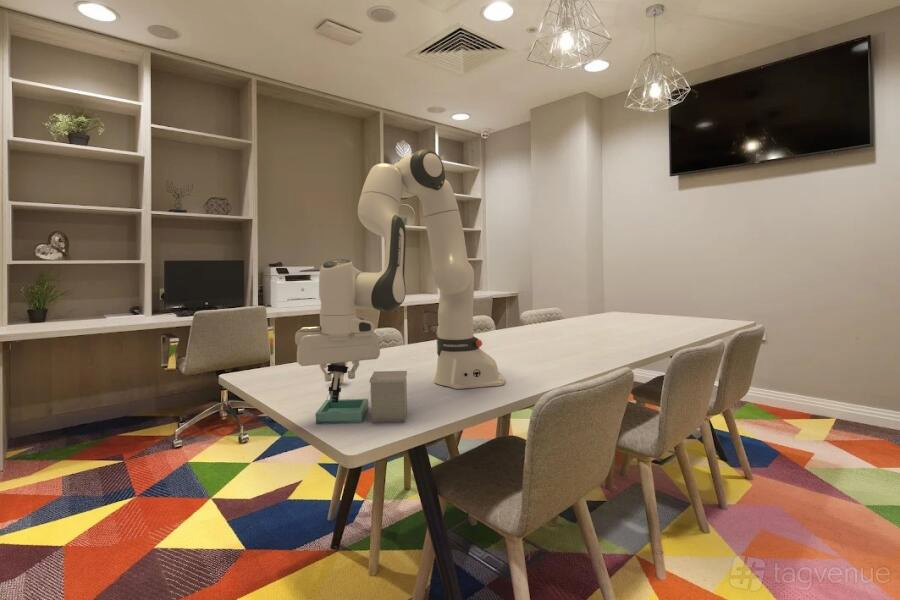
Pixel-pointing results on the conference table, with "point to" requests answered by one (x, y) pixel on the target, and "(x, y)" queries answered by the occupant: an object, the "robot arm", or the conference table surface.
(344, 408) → the parts tray
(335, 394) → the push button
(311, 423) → the conference table surface
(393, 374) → the box
